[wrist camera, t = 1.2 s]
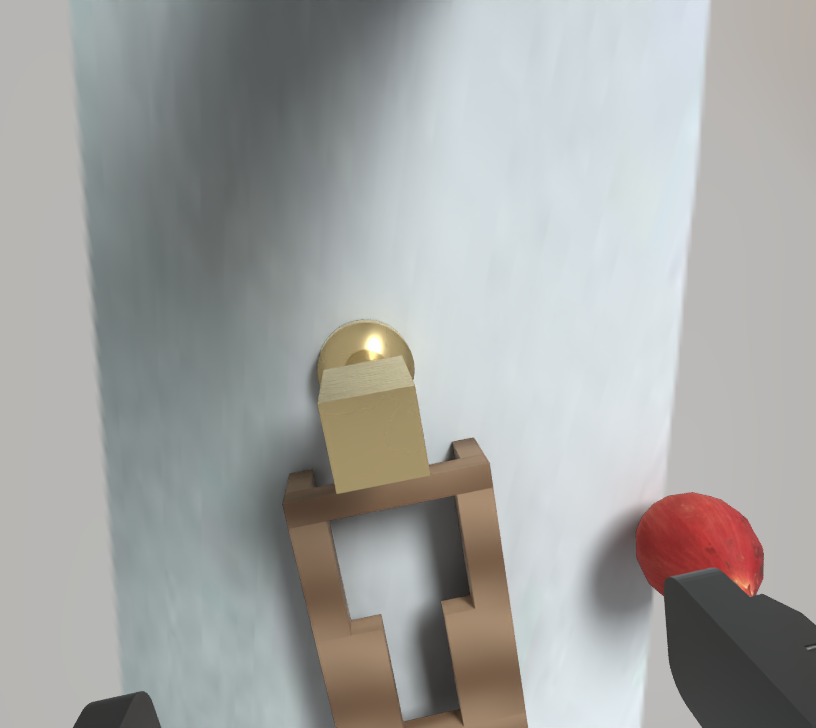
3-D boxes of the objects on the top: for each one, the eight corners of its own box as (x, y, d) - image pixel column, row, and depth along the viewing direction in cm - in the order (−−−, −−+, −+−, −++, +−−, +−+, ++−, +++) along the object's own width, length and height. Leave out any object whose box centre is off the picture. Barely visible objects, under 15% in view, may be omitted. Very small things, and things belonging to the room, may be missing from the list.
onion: (708, 463, 34) (816, 533, 26) (706, 554, 35) (809, 646, 27) (609, 477, 33) (690, 552, 25) (611, 568, 34) (689, 666, 27)
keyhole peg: (309, 328, 30) (287, 385, 19) (403, 311, 30) (435, 357, 19) (328, 418, 31) (317, 520, 20) (418, 401, 31) (456, 492, 20)
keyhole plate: (289, 473, 31) (282, 504, 28) (473, 437, 32) (489, 462, 28) (353, 748, 35) (354, 804, 32) (514, 711, 36) (533, 763, 32)
